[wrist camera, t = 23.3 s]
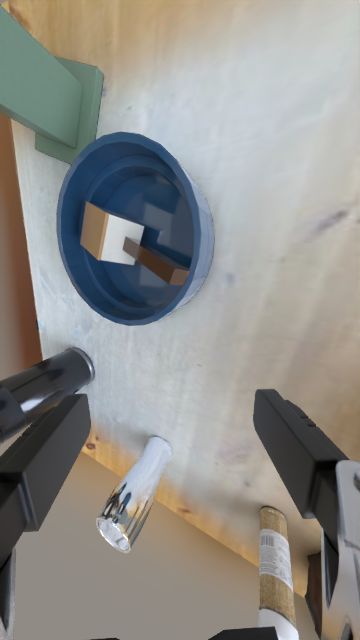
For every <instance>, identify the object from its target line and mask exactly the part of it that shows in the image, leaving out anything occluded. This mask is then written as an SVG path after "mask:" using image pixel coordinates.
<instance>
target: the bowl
mask: <svg viewBox="0 0 360 640" xmlns="http://www.w3.org/2000/svg"><path fill="white" fill-rule="evenodd" d="M86 201H87V202H90V203H92V204H94V205H97V206H100V207H102V208H105V209H108V210H111V211H113V212H116V213H119V214H121V215H124V216H126V217H127V218H129V219H131V220H133V221H135V222H137V223H139V224H141V225H142V226H144V230H143V234H142V237H141V241H142V242H144V243H146V244H147V245H149V246H150V247H152V248H154V249H155V250H157V251H158V252H160V253H162V254H163V255H165V256H167V257H168V258H170V259H171V260H173V261H175V262H176V263H178V264H179V265H181V266H183V267H184V268H186V269H188V270H189V271H190V273H189V275H188V278H187V280H186V282H185V285H184V286H182V285H169V284H168V283H167V282H165V281H164V280H163V279H161V278H160V277H159V276H157V275H156V274H154V273H153V272H152V271H150V270H149V269H148V268H146V267H145V266H144V265H142V264H141V263H140V262H138V261H137V260H136V259H135V263H134V265H129V264H123V263H116V262H110V261H103V260H101V261H100V260H97V259H96V258H95V257H94V256H93V255H92V254H91V253H90V252H88V251H87V250H86V249H85V248H84V247H83V246H82V245H81V244H80V242H81V235H82V227H83V220H84V213H85V206H86ZM57 238H58V244H59V251H60V254H61V258H62V261H63V264H64V267H65V269H66V272H67V274H68V276H69V278H70V280H71V282H72V284H73V286H74V287H75V289H76V290H77V292H78V294H79V295H80V296H81V297H82V299H83V300H84V301H85V302H86V303H87V304H88V305H89V306H90V307H91V308H92V309H93V310H94V311H96V312H97V313H98V314H100V315H101V316H103V317H105V318H107V319H109V320H111V321H113V322H115V323H119V324H124V325H128V326H135V325H145V324H148V323H152V322H155V321H158V320H159V319H161V318H163V317H165V316H166V315H168V314H170V313H172V312H173V311H175V310H177V309H178V308H180V307H181V306H183V305H184V304H186V303H187V302H188V301H189V300H190V299H191V298H192V297H193V296H194V295H195V294H196V293H197V292H198V291H199V289H200V287H201V286H202V284H203V282H204V280H205V279H206V277H207V274H208V271H209V268H210V265H211V261H212V258H213V248H214V230H213V220H212V216H211V213H210V210H209V207H208V204H207V201H206V198H205V197H204V195H203V193H202V192H201V190H200V188H199V187H198V185H197V184H196V182H195V181H194V180H193V178H192V177H191V176H190V175H189V174H188V173H187V171H186V170H185V169H184V168H183V167H182V166H181V164H180V163H179V162H178V161H177V160H176V159H175V158H174V157H173V156H172V155H171V154H170V153H169V152H168V151H167V150H166V149H165V148H164V147H163V146H162V145H161V144H159V143H157V142H155V141H153V140H151V139H149V138H147V137H145V136H143V135H140V134H135V133H127V132H117V133H113V134H108V135H104V136H102V137H100V138H98V139H97V140H95V141H94V142H92V143H90V144H89V145H87V146H86V147H85V148H84V150H83V151H82V152H81V153H80V154H79V155H78V156H77V157H76V158H75V160H74V161H73V163H72V165H71V167H70V169H69V170H68V172H67V174H66V176H65V178H64V181H63V184H62V188H61V191H60V195H59V200H58V206H57Z"/></svg>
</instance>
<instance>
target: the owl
mask: <svg viewBox="0 0 360 640" xmlns="http://www.w3.org/2000/svg"><path fill="white" fill-rule="evenodd" d="M308 559H309V564H310V565H309V569H308V585H307V593H306V595H305V599H306V602H307V605H308V608H309V611H310V613H311V616H312V619H313V622H314V625H315V631H316V633H317V634H318V637H319V639H320V640H321V632H322V568H321V551H320V552H319V553H318V554H315V555H312V556H308Z"/></svg>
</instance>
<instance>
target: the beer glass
mask: <svg viewBox="0 0 360 640" xmlns="http://www.w3.org/2000/svg"><path fill="white" fill-rule="evenodd" d="M172 455H173V452H172V449H171V447H170V445H169V444H168V443H167V442H166V441H165V440H163V439H162V438H159V437H151V438H150V439H149V440H148V442H147V445H146V447H145V450H144V452H143V453H142V455H141V456H140V458H139V459H138V460H137V462H136V463H135V464H134V465H133V466H132V467H131V468H130V470H129V471H128V472H127V473H126V474H125V475H124V477H123V478H122V479H121V480H120V482H119V483H118V485H117V486H116V487H115V489H114V490H113V492H112V494H111V495H110V497H109V499H108V500H107V502H106V504H105V506H104V507H103V509H102V511H101V513H100V515H99V517H98V518H97V519H96V525H97V528H98V530H99V532H100V533H101V535H102V536H103V537H104V539H105V540H106V541H107V542H108V543H109V544H110V545H112V546H113V547H114V548H115V549H117V550H119V551H121V552H123V553H128V552H130V550H131V548H132V546H133V544H134V542H135V540H136V538H137V536H138V534H139V532H140V530H141V528H142V527H143V525H144V522H145V520H146V518H147V516H148V514H149V511H150V509H151V506H152V503H153V500H154V497H155V494H156V491H157V487H158V484H159V481H160V477H161V475H162V472H163V470H164V468H165V466H166V465H167V463H168V462H169V461H170V459H171V458H172Z"/></svg>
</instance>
